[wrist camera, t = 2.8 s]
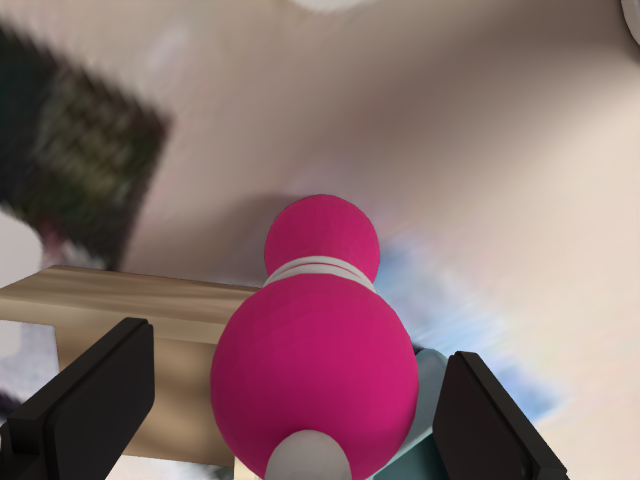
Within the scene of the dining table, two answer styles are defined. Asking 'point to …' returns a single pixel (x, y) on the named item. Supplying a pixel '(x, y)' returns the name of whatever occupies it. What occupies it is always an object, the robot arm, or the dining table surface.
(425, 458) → the flower pot
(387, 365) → the pepper mill
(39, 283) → the corner fence
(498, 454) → the robot arm
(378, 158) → the dining table surface
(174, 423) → the board
